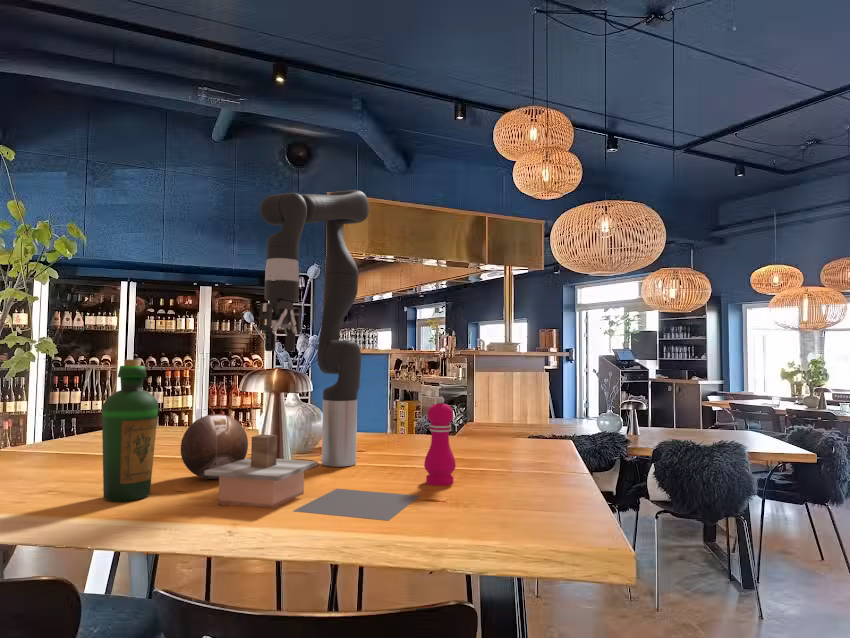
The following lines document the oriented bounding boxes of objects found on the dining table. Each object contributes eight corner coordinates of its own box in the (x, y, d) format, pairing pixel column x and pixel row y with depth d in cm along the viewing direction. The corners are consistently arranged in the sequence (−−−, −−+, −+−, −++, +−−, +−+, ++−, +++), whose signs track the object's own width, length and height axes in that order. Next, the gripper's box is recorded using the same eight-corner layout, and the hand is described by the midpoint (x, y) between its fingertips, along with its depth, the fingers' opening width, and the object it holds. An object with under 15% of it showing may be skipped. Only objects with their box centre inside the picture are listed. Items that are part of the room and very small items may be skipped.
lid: (251, 460, 127) (252, 429, 127) (317, 465, 122) (318, 432, 123) (204, 474, 111) (205, 439, 112) (277, 480, 107) (278, 443, 107)
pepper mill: (452, 488, 128) (453, 398, 129) (421, 486, 130) (422, 397, 131) (457, 481, 135) (458, 395, 137) (427, 479, 137) (428, 395, 138)
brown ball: (198, 488, 125) (200, 419, 126) (168, 478, 136) (170, 414, 137) (259, 478, 137) (261, 414, 137) (227, 469, 147) (229, 410, 148)
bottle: (146, 503, 113) (152, 360, 115) (88, 504, 111) (94, 359, 113) (162, 490, 124) (167, 359, 125) (109, 491, 122) (114, 359, 124)
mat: (336, 490, 125) (336, 488, 125) (420, 497, 120) (420, 495, 120) (292, 513, 107) (292, 510, 107) (388, 522, 102) (388, 520, 102)
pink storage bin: (253, 491, 124) (254, 462, 124) (303, 495, 120) (304, 466, 121) (218, 504, 112) (219, 473, 113) (272, 510, 109) (273, 478, 109)
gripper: (283, 284, 140) (282, 351, 139) (249, 276, 126) (247, 350, 125) (311, 283, 138) (310, 351, 137) (280, 275, 124) (278, 351, 123)
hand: (280, 351), depth 131 cm, fingers open, 8 cm apart
